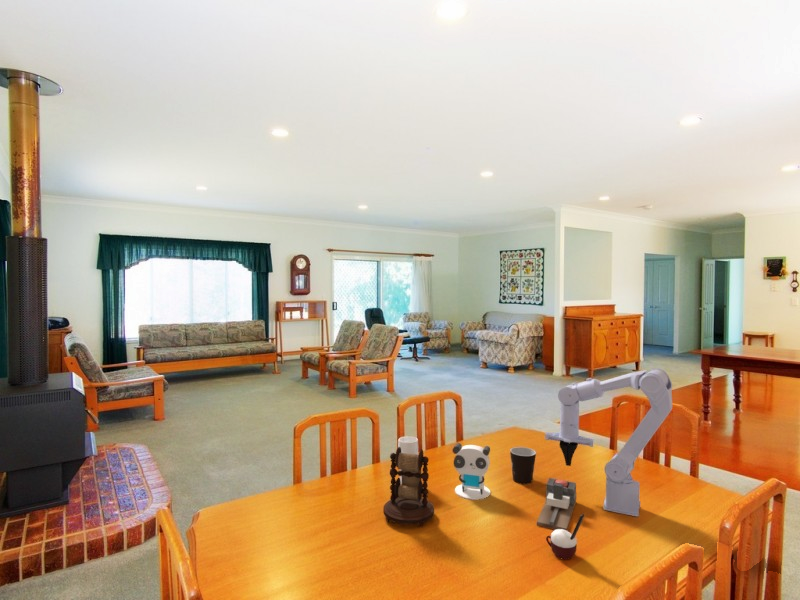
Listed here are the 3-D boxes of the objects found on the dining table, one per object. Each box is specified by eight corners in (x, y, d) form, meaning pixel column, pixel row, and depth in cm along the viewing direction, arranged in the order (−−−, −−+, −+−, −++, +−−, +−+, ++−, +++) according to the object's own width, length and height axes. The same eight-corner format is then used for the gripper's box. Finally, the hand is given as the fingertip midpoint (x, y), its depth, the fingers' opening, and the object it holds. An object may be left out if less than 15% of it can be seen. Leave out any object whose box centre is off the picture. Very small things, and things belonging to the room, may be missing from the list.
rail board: (576, 502, 148) (577, 483, 148) (567, 532, 131) (568, 510, 130) (549, 496, 152) (549, 477, 152) (536, 525, 134) (537, 504, 134)
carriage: (569, 503, 143) (569, 483, 143) (567, 509, 139) (568, 488, 139) (548, 499, 146) (549, 479, 145) (546, 504, 142) (546, 484, 142)
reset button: (568, 487, 149) (568, 481, 148) (566, 491, 145) (566, 485, 145) (556, 485, 150) (556, 478, 150) (554, 489, 147) (554, 483, 147)
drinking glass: (418, 487, 158) (418, 443, 157) (397, 487, 158) (397, 442, 157) (417, 479, 165) (418, 436, 164) (398, 478, 165) (398, 435, 164)
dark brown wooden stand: (438, 508, 144) (439, 442, 143) (428, 533, 130) (428, 460, 129) (391, 501, 148) (392, 437, 147) (376, 525, 134) (376, 454, 133)
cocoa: (542, 550, 123) (540, 504, 122) (562, 544, 125) (560, 499, 125) (568, 569, 114) (566, 519, 114) (589, 563, 116) (587, 514, 116)
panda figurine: (449, 496, 152) (449, 449, 151) (456, 481, 163) (457, 438, 162) (487, 502, 148) (488, 454, 148) (492, 487, 159) (493, 442, 158)
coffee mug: (529, 487, 158) (530, 458, 158) (505, 481, 164) (505, 452, 163) (542, 476, 168) (543, 448, 167) (519, 470, 173) (519, 442, 172)
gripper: (543, 423, 153) (542, 464, 154) (592, 429, 147) (591, 473, 147) (547, 417, 159) (546, 457, 160) (594, 423, 153) (593, 465, 153)
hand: (568, 464), depth 154 cm, fingers closed
